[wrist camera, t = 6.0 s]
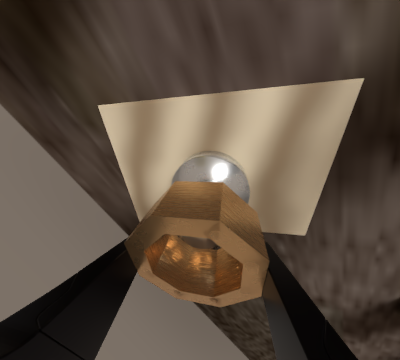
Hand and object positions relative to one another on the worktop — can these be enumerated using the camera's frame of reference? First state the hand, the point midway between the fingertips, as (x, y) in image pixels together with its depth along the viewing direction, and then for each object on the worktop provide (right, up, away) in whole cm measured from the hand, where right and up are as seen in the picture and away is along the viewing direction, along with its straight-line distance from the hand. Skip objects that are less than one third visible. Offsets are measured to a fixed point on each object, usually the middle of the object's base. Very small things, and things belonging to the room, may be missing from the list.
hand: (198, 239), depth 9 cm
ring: (0, 0, +1) cm, 1 cm away
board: (+1, +5, +6) cm, 8 cm away
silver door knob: (+1, +3, +6) cm, 7 cm away
